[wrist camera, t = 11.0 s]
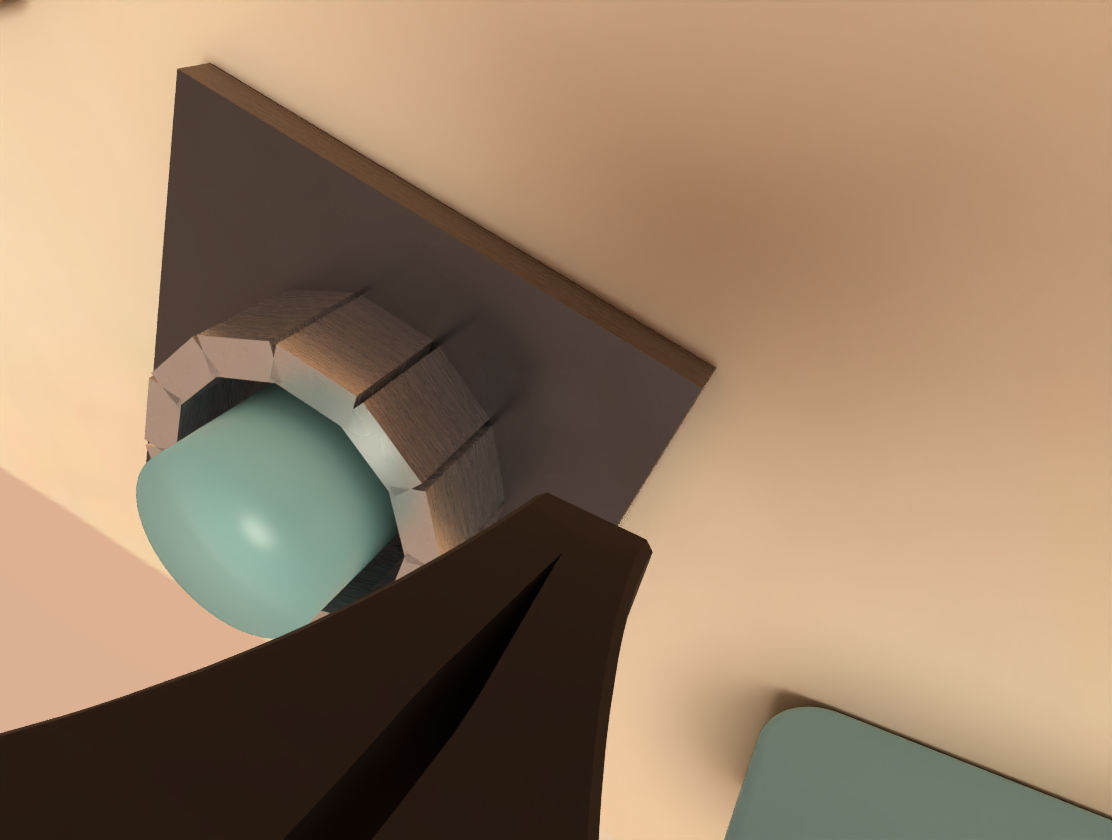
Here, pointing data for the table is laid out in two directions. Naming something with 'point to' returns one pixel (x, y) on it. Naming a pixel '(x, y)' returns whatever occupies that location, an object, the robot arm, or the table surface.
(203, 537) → the teal rounded cylinder
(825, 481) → the table surface
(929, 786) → the data package
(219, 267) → the square base ring holder
